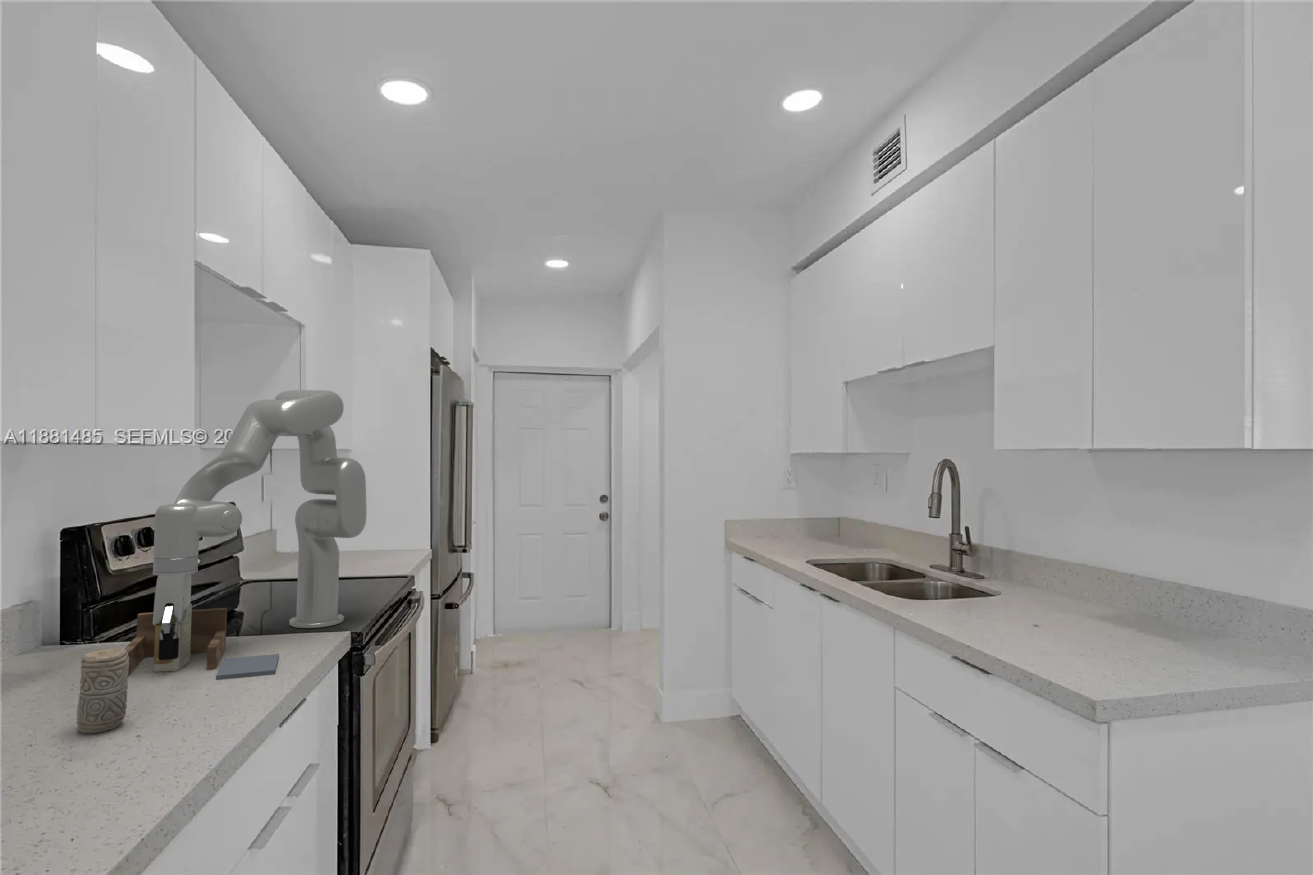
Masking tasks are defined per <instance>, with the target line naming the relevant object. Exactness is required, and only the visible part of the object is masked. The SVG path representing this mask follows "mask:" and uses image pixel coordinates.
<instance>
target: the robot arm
mask: <svg viewBox="0 0 1313 875" xmlns="http://www.w3.org/2000/svg"><path fill="white" fill-rule="evenodd" d="M344 406H345V405H344V402H343V399H342V398H341V396H339V395H338V394H337V393H336V392H334V391H331V390H327V389H326V390H324V389H321V390H319V389H316V390H313V389H311V390H310V389H308V390H307V389H292V390H286V391H282V392H280V393H278V394H277V395H276V396H275V398H274V399H258V400H255V401H253V402H251V403H250V404H249V405H248V406H247V407H246V408H245V410H244V411H243V414H242V415H241V417H240V418H239V420H238V423H237V424H236V427H235V428H234V430H233V432H232V433H231V436H230V437H229V439H228V441H227V442H226V444H225V446H224V448H223V450H222V451H221V452H220V453H219V455H217V456H216V457H214V458H213V459H211V460H210V461H209V462H207V464H205V465H204V466H203V467H202V468H200V469H199V470H198V471H196V472H195V473H194V474H192V476H191V477H190V478H189V479H188V480H187V482H186V483H185V484H184V485H183V487H182V489H181V490H180V492H179V494H178V495H177V497H176V499H175V501H174V503H171V504H169V503H168V504H162V505H160V506H158V507H157V508H156V510H155V514H154V535H153V536H154V537H153V538H154V539H153V559H152V561H153V563H152V575H153V576H157V579H156V585H155V592H154V593H155V594H154V602H153V604H154V605H153V612H154V614H153V625H155V626H157V625H158V624H159V623H160V622H161V619H162V624H161V632H160V640H159V660H169V659H177V658H178V656H179V638H177V636H178V624H180V623H182V622H183V621H184V620H185V617H186V614H187V611H188V606H189V604H191V598H192V597H191V596H192V595H191V594H192V574H194V573H198V569H199V568H198V566H199V545H200V544H199V543H200V538H223V537H224V538H225V537H227V536H230V535H232V534H234V533H235V532H237V530H239V528H240V527H241V524H242V521H243V516H242V512H241V510H240V509H239V508H238V507H237V506H236V505H235V504H232V503H230V502H226V501H214V500H213V499H214V498H215V496H216V495H217V494H218V493H220V492H221V491H222V490H223V489H225V488H226V487H227V486H229V485H231V484H233V483H235V482H237V481H240V480H242V479H245V478H248V477H249V476H252V475H254V474H257V472H259V471H260V470H261V469H262V468H263V466H264V464H265V461H266V459H267V458H268V457H269V456H268V455H269V454H270V452H271V450H272V448H273V446H274V444H275V442H276V441H277V439H278V437H296V438H297V440H298V441H297V442H298V446H299V447H298V448H299V475H300V484H301V487H302V488H303V490H304V491H306V492H307V493H309V494H315V495H327V496H328V495H331V496H335V499H329V498H313V499H309V500H306V501H304V502H303V503H301V504H300V505H299V507H298V508H297V510H296V512H295V517H294V523H295V530H296V534H297V541H298V542H297V543H298V557H297V558H298V559H297V560H298V561H297V582H296V583H297V585H296V587H297V589H296V590H297V591H296V616H293V617H292V618H290V619H289V621H288V623H289V624H288V625H289V626H291V627H293V628H296V629H316V628H327V627H331V626H335V625H336V626H337V625H338V624H342V623H343V622H344V620H345V616H344V615H343V614H341V613H339V612H338V611H339V610H338V609H339V608H338V606H339V581H340V580H339V577H340V575H339V574H340V549H339V545H338V543H337V541H336V539H335V538H338V539H339V538H340V539H352V538H356V537H358V536H360V535H361V533H362V532H363V530H364V529H365V526H366V523H367V483H366V474H365V470H364V469H363V466H362V464H360V462H358V460H356V459H353V458H350V457H338V453H337V443H336V435H335V433H334V429H333V428H332V427H331V426H332V425H334V424H336V423H337V422H339V421H340V419H341V417H342V416H343V414H344V409H345V407H344ZM212 500H213V501H212ZM173 611H174V614H175V616H176V622H172V623H171V620H172V616H173ZM177 618H178V619H177ZM156 624H157V625H156ZM173 626H175V627H174V629H173Z"/></svg>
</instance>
